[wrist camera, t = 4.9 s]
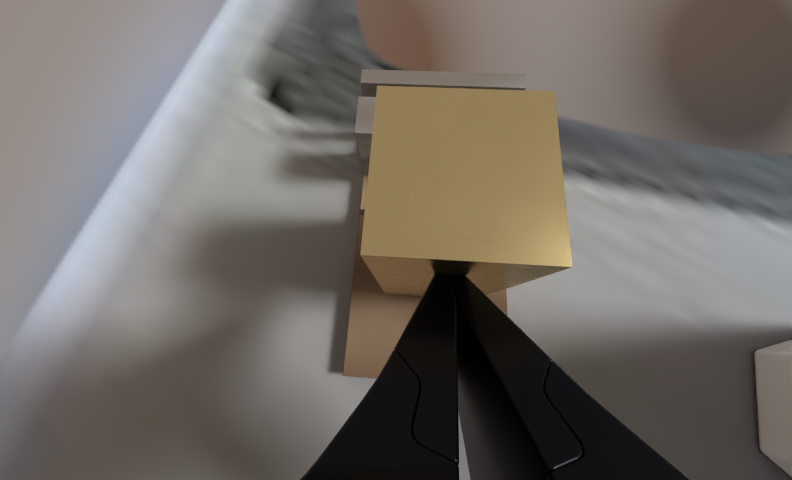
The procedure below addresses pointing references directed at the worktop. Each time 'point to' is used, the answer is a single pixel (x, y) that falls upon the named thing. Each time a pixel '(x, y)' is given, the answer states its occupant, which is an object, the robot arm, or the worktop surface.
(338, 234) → the worktop surface
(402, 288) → the tan rectangular block
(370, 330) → the board
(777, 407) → the lidded container
